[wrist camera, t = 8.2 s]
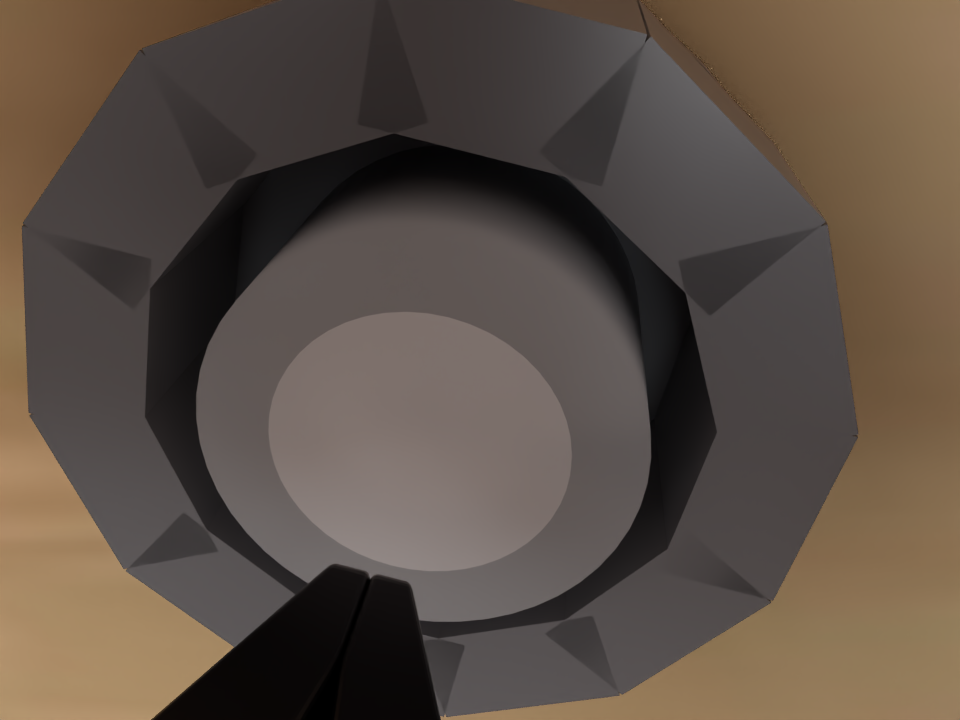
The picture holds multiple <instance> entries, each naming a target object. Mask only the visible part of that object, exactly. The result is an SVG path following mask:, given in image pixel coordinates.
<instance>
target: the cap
mask: <svg viewBox="0 0 960 720" xmlns="http://www.w3.org/2000/svg"><path fill="white" fill-rule="evenodd" d="M196 420H197V427H198V434H199V440H200V445H201V449H202V452H203V455H204V459H205V462H206V465H207V468H208V471H209V473H210V475H211V477H212V480H213V482H214V484H215V486H216V489H217V491H218V492H219V494H220V496H221V497H222V499H223V501H224V502H225V504H226V506H227V507H228V509H229V510H230V512H231V514H232V515H233V516H234V517H235V519H236V520H237V521H238V522H239V524H240V525H241V526H242V528H243V529H244V530H245V531H246V533H247V534H248V535H249V536H250V537H251V538H252V539H253V540H254V541H255V542H256V543H257V544H258V545H259V546H260V547H261V548H262V549H263V550H264V551H265V552H266V553H267V554H268V555H270V556H271V557H272V558H273V559H275V560H276V561H277V562H278V563H279V564H281V565H282V566H283V567H284V568H286V569H287V570H289V571H290V572H292V573H293V574H295V575H296V576H298V577H299V578H301V579H302V580H304V581H305V582H307V583H309V582H310V581H312V580H313V579H314V578H315V577H316V576H317V575H318V574H320V573H321V572H322V571H323V570H324V569H325V568H327V567H328V566H329V565H331V564H335V563H336V564H341V565H345V566H349V567H353V568H357V569H361V570H365V571H367V572H368V573H369V576H370V579H371V577H372V576H373V575H375V574H381V575H385V576H389V577H392V578H396V579H400V580H404V581H407V582H409V583H410V584H411V587H412V589H413V593H414V598H415V602H416V607H417V612H418V616H419V620H423V621H433V622H462V621H472V620H483V619H489V618H494V617H499V616H504V615H509V614H513V613H516V612H519V611H522V610H525V609H528V608H531V607H535V606H537V605H539V604H541V603H544V602H546V601H548V600H550V599H552V598H555V597H557V596H559V595H560V594H562V593H564V592H565V591H567V590H569V589H570V588H572V587H573V586H575V585H577V584H578V583H580V582H581V581H582V580H584V579H585V578H586V577H587V576H589V575H590V574H591V573H592V572H593V571H595V570H596V569H597V568H598V567H599V566H600V565H601V564H602V563H603V562H604V561H605V560H606V559H607V558H608V557H609V556H610V555H611V554H612V552H613V551H614V550H615V549H616V548H617V546H618V545H619V544H620V542H621V541H622V539H623V538H624V536H625V535H626V533H627V532H628V531H629V529H630V527H631V525H632V523H633V521H634V519H635V517H636V515H637V513H638V511H639V509H640V506H641V503H642V500H643V497H644V493H645V490H646V487H647V483H648V477H649V469H650V462H651V431H650V421H649V410H648V399H647V388H646V378H645V367H644V356H643V346H642V335H641V324H640V313H639V303H638V296H637V290H636V285H635V279H634V276H633V273H632V270H631V267H630V264H629V261H628V258H627V255H626V253H625V251H624V249H623V247H622V245H621V243H620V241H619V239H618V237H617V236H616V234H615V233H614V231H613V230H612V228H611V227H610V225H609V224H608V222H607V221H606V219H605V218H604V217H603V215H602V214H601V213H600V212H599V211H598V210H597V209H596V208H595V207H594V205H593V204H592V203H591V202H590V201H589V200H588V199H587V198H586V197H585V196H584V195H582V194H581V193H580V192H579V191H578V190H577V189H575V188H574V187H573V186H572V185H571V184H570V183H568V182H567V181H565V180H564V179H562V178H561V177H559V176H557V175H556V174H553V173H549V172H545V171H541V170H537V169H533V168H529V167H525V166H521V165H517V164H513V163H509V162H505V161H501V160H497V159H493V158H489V157H485V156H481V155H477V154H473V153H469V152H466V151H462V150H458V149H454V148H450V147H446V146H442V145H434V146H424V147H419V148H414V149H410V150H405V151H401V152H398V153H395V154H392V155H390V156H387V157H384V158H381V159H379V160H377V161H375V162H373V163H371V164H369V165H367V166H366V167H364V168H362V169H360V170H358V171H357V172H355V173H354V174H353V175H351V176H350V177H349V178H347V179H346V180H344V181H343V182H342V183H340V184H339V185H338V186H337V187H336V188H335V189H334V190H333V191H332V192H331V193H330V194H329V195H328V196H327V197H326V198H325V199H324V200H323V201H322V202H321V203H320V205H319V206H318V207H317V208H316V209H315V210H314V211H313V213H312V214H311V215H310V216H309V217H308V218H307V220H306V221H305V222H304V223H303V224H302V225H301V226H300V228H299V229H298V230H297V231H296V232H295V233H294V234H293V236H292V237H291V238H290V239H289V240H288V241H287V243H286V244H285V245H284V246H283V247H282V248H281V249H280V251H279V252H278V253H277V254H276V255H275V256H274V257H273V259H272V260H271V261H270V262H269V263H268V264H267V265H266V267H265V268H264V269H263V270H262V271H261V272H260V274H259V275H258V276H257V277H256V278H255V279H254V280H253V282H252V283H251V284H250V285H249V286H248V287H247V288H246V290H245V291H244V292H243V293H242V294H241V295H240V297H239V298H238V299H237V300H236V301H235V303H234V304H233V305H232V307H231V308H230V309H229V311H228V312H227V313H226V315H225V316H224V317H223V319H222V320H221V321H220V323H219V325H218V327H217V329H216V331H215V333H214V335H213V337H212V338H211V340H210V342H209V344H208V347H207V350H206V353H205V356H204V359H203V362H202V365H201V368H200V374H199V380H198V387H197V393H196Z"/></svg>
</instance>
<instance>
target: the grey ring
mask: <svg viewBox="0 0 960 720" xmlns="http://www.w3.org/2000/svg"><path fill="white" fill-rule="evenodd" d="M434 145H442V146H446V147H450V148H454V149H458V150H462V151H466V152H469V153H473V154H477V155H481V156H485V157H489V158H493V159H497V160H501V161H505V162H509V163H513V164H517V165H521V166H525V167H529V168H533V169H537V170H541V171H545V172H549V173H553V174H556V175H557V176H559V177H561V178H562V179H564V180H565V181H567V182H568V183H570V184H571V185H572V186H573V187H574V188H575V189H577V190H578V191H579V192H580V193H581V194H582V195H584V196H585V197H586V198H587V199H588V200H589V201H590V202H591V203H592V204H593V205H594V207H595V208H596V209H597V210H598V211H599V212H600V213H601V214H602V215H603V217H604V218H605V219H606V221H607V222H608V224H609V225H610V227H611V228H612V230H613V231H614V233H615V234H616V236H617V237H618V239H619V241H620V243H621V245H622V247H623V249H624V251H625V253H626V255H627V258H628V261H629V264H630V267H631V270H632V273H633V276H634V279H635V285H636V290H637V296H638V303H639V313H640V324H641V335H642V346H643V356H644V367H645V378H646V388H647V399H648V410H649V421H650V431H651V462H650V469H649V477H648V483H647V487H646V490H645V493H644V497H643V500H642V503H641V506H640V509H639V511H638V513H637V515H636V517H635V519H634V521H633V523H632V525H631V527H630V529H629V531H628V532H627V533H626V535H625V536H624V538H623V539H622V541H621V542H620V544H619V545H618V546H617V548H616V549H615V550H614V551H613V552H612V554H611V555H610V556H609V557H608V558H607V559H606V560H605V561H604V562H603V563H602V564H601V565H600V566H599V567H598V568H597V569H596V570H595V571H593V572H592V573H591V574H590V575H589V576H587V577H586V578H585V579H584V580H582V581H581V582H580V583H578V584H577V585H575V586H573V587H572V588H570V589H569V590H567V591H565V592H564V593H562V594H560V595H559V596H557V597H555V598H552V599H550V600H548V601H546V602H544V603H541V604H539V605H537V606H535V607H531V608H528V609H525V610H522V611H519V612H516V613H513V614H509V615H504V616H499V617H494V618H489V619H483V620H472V621H462V622H433V621H423V620H419V621H420V626H421V630H422V635H423V640H424V644H425V649H426V654H427V658H428V663H429V668H430V672H431V677H432V682H433V686H434V691H435V696H436V700H437V705H438V710H439V714H440V716H443V717H444V715H446V717H450V716H458V715H466V714H475V713H483V712H491V711H499V710H507V709H515V708H523V707H531V706H539V705H547V704H556V703H564V702H572V701H580V700H588V699H596V698H604V697H612V696H620V695H619V693H621V694H624V693H626V692H627V691H629V690H631V689H632V688H634V687H635V686H637V685H639V684H640V683H642V682H644V681H645V680H647V679H648V678H650V677H652V676H653V675H655V674H656V673H658V672H660V671H661V670H663V669H665V668H666V667H668V666H669V665H671V664H673V663H674V662H676V661H678V660H679V659H681V658H682V657H684V656H686V655H687V654H689V653H690V652H692V651H694V650H695V649H697V648H699V647H700V646H702V645H703V644H705V643H707V642H708V641H710V640H711V639H713V638H715V637H716V636H718V635H720V634H721V633H723V632H724V631H726V630H728V629H729V628H731V627H733V626H734V625H736V624H737V623H739V622H741V621H742V620H744V619H745V618H747V617H749V616H750V615H752V614H754V613H755V612H757V611H758V610H760V609H762V608H763V607H765V606H767V605H768V604H770V603H771V600H772V601H773V600H774V598H775V596H776V594H777V592H778V590H779V588H780V586H781V584H782V582H783V581H784V579H785V577H786V575H787V573H788V571H789V569H790V567H791V565H792V563H793V561H794V559H795V557H796V556H797V554H798V552H799V550H800V548H801V546H802V544H803V542H804V540H805V538H806V536H807V534H808V532H809V531H810V529H811V527H812V525H813V523H814V521H815V519H816V517H817V515H818V513H819V511H820V509H821V507H822V506H823V504H824V502H825V500H826V498H827V496H828V494H829V492H830V490H831V488H832V486H833V484H834V482H835V481H836V479H837V477H838V475H839V473H840V471H841V469H842V467H843V465H844V463H845V461H846V459H847V457H848V456H849V454H850V452H851V450H852V448H853V446H854V444H855V442H856V440H857V438H858V437H857V435H858V428H857V421H856V414H855V407H854V401H853V394H852V387H851V380H850V373H849V367H848V360H847V353H846V346H845V339H844V333H843V326H842V319H841V312H840V305H839V299H838V292H837V285H836V278H835V271H834V265H833V258H832V251H831V244H830V238H829V231H828V225H827V223H826V221H825V219H824V218H823V216H822V215H821V213H820V212H819V210H818V209H817V207H816V206H815V204H814V203H813V201H812V200H811V198H810V197H809V195H808V194H807V192H806V191H805V189H804V188H803V186H802V185H801V183H800V182H799V180H798V179H797V177H796V176H795V174H794V173H793V171H792V170H791V168H790V167H789V165H788V164H787V162H786V161H785V159H784V158H783V156H782V155H781V153H780V152H779V150H778V149H777V147H776V146H775V144H774V143H773V142H772V140H771V139H770V138H769V137H768V136H767V135H766V134H765V133H764V132H763V131H762V130H761V129H760V128H759V127H758V126H757V124H756V123H755V122H754V121H753V120H752V119H751V118H750V117H749V116H748V115H747V114H746V113H745V112H744V111H743V110H742V109H741V107H740V106H739V105H738V104H737V103H736V102H735V101H734V100H733V99H732V98H731V97H730V96H729V94H728V93H727V92H726V91H725V90H724V88H723V87H722V86H721V85H720V83H719V82H718V81H717V80H716V78H715V77H714V76H713V75H712V73H711V72H710V71H709V70H708V69H707V67H706V66H705V65H704V64H703V62H702V61H701V60H700V59H699V58H698V57H697V56H696V55H695V54H693V53H692V52H691V51H690V50H689V49H688V48H687V47H686V46H685V45H684V44H683V43H682V42H680V41H679V40H678V39H677V38H676V37H675V36H674V35H673V34H672V33H671V32H670V31H669V30H667V29H666V27H665V26H664V25H663V24H662V23H661V22H660V21H659V20H658V19H657V18H656V17H655V16H654V15H653V14H652V13H651V11H650V10H649V9H648V8H647V7H646V6H645V5H644V4H643V3H642V2H641V1H640V0H275V1H272V2H269V3H267V4H264V5H261V6H258V7H255V8H252V9H249V10H246V11H244V12H241V13H238V14H235V15H233V16H230V17H227V18H224V19H222V20H219V21H216V22H213V23H211V24H208V25H205V26H202V27H200V28H197V29H194V30H191V31H189V32H186V33H183V34H180V35H178V36H175V37H172V38H169V39H167V40H164V41H161V42H158V43H156V44H153V45H150V46H147V47H145V48H142V50H140V51H139V52H138V53H137V55H136V56H135V58H134V59H133V61H132V62H131V64H130V65H129V67H128V68H127V69H126V71H125V72H124V74H123V75H122V77H121V78H120V80H119V81H118V83H117V84H116V86H115V87H114V89H113V90H112V92H111V93H110V95H109V96H108V98H107V99H106V101H105V102H104V104H103V105H102V106H101V108H100V109H99V111H98V112H97V114H96V115H95V117H94V118H93V120H92V121H91V123H90V124H89V126H88V127H87V129H86V130H85V132H84V133H83V135H82V136H81V138H80V139H79V141H78V142H77V144H76V145H75V146H74V148H73V149H72V151H71V152H70V154H69V155H68V157H67V158H66V160H65V161H64V163H63V164H62V166H61V167H60V169H59V170H58V172H57V173H56V175H55V176H54V178H53V179H52V181H51V182H50V184H49V185H48V186H47V188H46V189H45V191H44V192H43V194H42V195H41V197H40V198H39V200H38V201H37V203H36V204H35V206H34V207H33V209H32V210H31V212H30V213H29V215H28V216H27V218H26V219H25V221H24V222H23V224H24V225H23V226H22V242H23V270H24V298H25V326H26V353H27V381H28V409H29V413H32V414H30V417H31V419H32V420H33V422H34V424H35V425H36V427H37V428H38V430H39V432H40V433H41V435H42V437H43V438H44V440H45V441H46V443H47V445H48V446H49V448H50V450H51V451H52V453H53V454H54V456H55V458H56V459H57V461H58V463H59V464H60V466H61V468H62V469H63V471H64V472H65V474H66V476H67V477H68V479H69V481H70V482H71V484H72V485H73V487H74V489H75V490H76V492H77V494H78V495H79V497H80V499H81V500H82V502H83V503H84V505H85V507H86V508H87V510H88V512H89V513H90V515H91V516H92V518H93V520H94V521H95V523H96V525H97V526H98V528H99V529H100V531H101V533H102V534H103V536H104V538H105V539H106V541H107V543H108V544H109V546H110V547H111V549H112V551H113V552H114V554H115V556H116V557H117V559H118V560H119V562H120V564H121V565H122V567H123V569H126V568H127V570H126V572H128V573H129V574H131V575H132V576H134V577H135V578H136V579H138V580H139V581H141V582H142V583H144V584H145V585H146V586H148V587H149V588H151V589H152V590H154V591H155V592H156V593H158V594H159V595H161V596H162V597H164V598H165V599H166V600H168V601H169V602H171V603H172V604H174V605H175V606H176V607H178V608H179V609H181V610H182V611H184V612H185V613H187V614H188V615H189V616H191V617H192V618H194V619H195V620H197V621H198V622H199V623H201V624H202V625H204V626H205V627H207V628H208V629H209V630H211V631H212V632H214V633H215V634H217V635H218V636H219V637H221V638H222V639H224V640H225V641H227V642H228V643H229V644H231V645H232V646H234V647H235V646H237V645H238V644H239V643H240V642H241V641H242V640H244V639H245V638H246V637H247V636H248V635H249V634H250V633H252V632H253V631H254V630H255V629H256V628H257V627H259V626H260V625H261V624H262V623H263V622H264V621H265V620H267V619H268V618H269V617H270V616H271V615H272V614H273V613H275V612H276V611H277V610H278V609H279V608H280V607H282V606H283V605H284V604H285V603H286V602H287V601H288V600H290V599H291V598H292V597H293V596H294V595H295V594H297V593H298V592H299V591H300V590H301V589H302V588H303V587H305V586H306V585H307V584H308V583H307V582H305V581H304V580H302V579H301V578H299V577H298V576H296V575H295V574H293V573H292V572H290V571H289V570H287V569H286V568H284V567H283V566H282V565H281V564H279V563H278V562H277V561H276V560H275V559H273V558H272V557H271V556H270V555H268V554H267V553H266V552H265V551H264V550H263V549H262V548H261V547H260V546H259V545H258V544H257V543H256V542H255V541H254V540H253V539H252V538H251V537H250V536H249V535H248V534H247V533H246V531H245V530H244V529H243V528H242V526H241V525H240V524H239V522H238V521H237V520H236V519H235V517H234V516H233V515H232V514H231V512H230V510H229V509H228V507H227V506H226V504H225V502H224V501H223V499H222V497H221V496H220V494H219V492H218V491H217V489H216V486H215V484H214V482H213V480H212V477H211V475H210V473H209V471H208V468H207V465H206V462H205V459H204V455H203V452H202V449H201V445H200V440H199V434H198V427H197V420H196V393H197V387H198V380H199V374H200V368H201V365H202V362H203V359H204V356H205V353H206V350H207V347H208V344H209V342H210V340H211V338H212V337H213V335H214V333H215V331H216V329H217V327H218V325H219V323H220V321H221V320H222V319H223V317H224V316H225V315H226V313H227V312H228V311H229V309H230V308H231V307H232V305H233V304H234V303H235V301H236V300H237V299H238V298H239V297H240V295H241V294H242V293H243V292H244V291H245V290H246V288H247V287H248V286H249V285H250V284H251V283H252V282H253V280H254V279H255V278H256V277H257V276H258V275H259V274H260V272H261V271H262V270H263V269H264V268H265V267H266V265H267V264H268V263H269V262H270V261H271V260H272V259H273V257H274V256H275V255H276V254H277V253H278V252H279V251H280V249H281V248H282V247H283V246H284V245H285V244H286V243H287V241H288V240H289V239H290V238H291V237H292V236H293V234H294V233H295V232H296V231H297V230H298V229H299V228H300V226H301V225H302V224H303V223H304V222H305V221H306V220H307V218H308V217H309V216H310V215H311V214H312V213H313V211H314V210H315V209H316V208H317V207H318V206H319V205H320V203H321V202H322V201H323V200H324V199H325V198H326V197H327V196H328V195H329V194H330V193H331V192H332V191H333V190H334V189H335V188H336V187H337V186H338V185H339V184H340V183H342V182H343V181H344V180H346V179H347V178H349V177H350V176H351V175H353V174H354V173H355V172H357V171H358V170H360V169H362V168H364V167H366V166H367V165H369V164H371V163H373V162H375V161H377V160H379V159H381V158H384V157H387V156H390V155H392V154H395V153H398V152H401V151H405V150H410V149H414V148H419V147H424V146H434Z"/></svg>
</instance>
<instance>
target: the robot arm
mask: <svg viewBox="0 0 960 720" xmlns="http://www.w3.org/2000/svg"><path fill="white" fill-rule="evenodd" d="M151 720H441V719H440V714H439V710H438V705H437V700H436V696H435V691H434V686H433V682H432V677H431V672H430V668H429V663H428V658H427V654H426V649H425V644H424V640H423V635H422V630H421V626H420V621H419V616H418V612H417V607H416V602H415V598H414V593H413V589H412V587H411V584H410V583H409V582H407V581H404V580H400V579H396V578H392V577H389V576H385V575H381V574H375V575H373V576H372V577H371V579H370V576H369V573H368V572H367V571H365V570H361V569H357V568H353V567H349V566H345V565H341V564H336V563H335V564H331V565H329V566H328V567H327V568H325V569H324V570H323V571H322V572H321V573H320V574H318V575H317V576H316V577H315V578H314V579H313V580H312V581H310V582H309V583H308V584H307V585H306V586H305V587H303V588H302V589H301V590H300V591H299V592H298V593H297V594H295V595H294V596H293V597H292V598H291V599H290V600H288V601H287V602H286V603H285V604H284V605H283V606H282V607H280V608H279V609H278V610H277V611H276V612H275V613H273V614H272V615H271V616H270V617H269V618H268V619H267V620H265V621H264V622H263V623H262V624H261V625H260V626H259V627H257V628H256V629H255V630H254V631H253V632H252V633H250V634H249V635H248V636H247V637H246V638H245V639H244V640H242V641H241V642H240V643H239V644H238V645H237V646H235V647H234V648H233V649H232V650H231V651H230V652H229V653H227V654H226V655H225V656H224V657H223V658H222V659H220V660H219V661H218V662H217V663H216V664H215V665H214V666H212V667H211V668H210V669H209V670H208V671H207V672H205V673H204V674H203V675H202V676H201V677H200V678H199V679H197V680H196V681H195V682H194V683H193V684H192V685H191V686H189V687H188V688H187V689H186V690H185V691H184V692H182V693H181V694H180V695H179V696H178V697H177V698H176V699H174V700H173V701H172V702H171V703H170V704H169V705H167V706H166V707H165V708H164V709H163V710H162V711H161V712H159V713H158V714H157V715H156V716H155V717H154V718H152V719H151Z"/></svg>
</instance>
